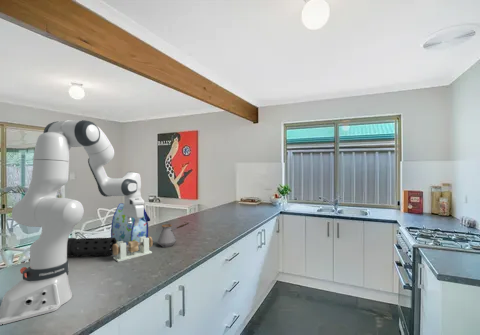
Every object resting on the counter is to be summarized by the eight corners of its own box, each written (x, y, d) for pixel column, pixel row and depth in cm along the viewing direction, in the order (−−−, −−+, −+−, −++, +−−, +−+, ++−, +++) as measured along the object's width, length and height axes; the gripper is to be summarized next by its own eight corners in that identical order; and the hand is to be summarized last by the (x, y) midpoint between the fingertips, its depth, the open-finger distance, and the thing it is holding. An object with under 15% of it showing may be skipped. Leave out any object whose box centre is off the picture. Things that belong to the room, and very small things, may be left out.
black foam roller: (109, 258, 140) (109, 239, 140) (57, 259, 138) (57, 241, 138) (116, 252, 149) (116, 235, 149) (68, 253, 148) (68, 236, 148)
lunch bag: (152, 241, 170) (151, 203, 171) (131, 248, 156) (131, 206, 156) (130, 237, 181) (129, 201, 181) (108, 243, 166) (108, 204, 166)
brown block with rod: (116, 256, 133) (116, 245, 133) (112, 253, 138) (112, 243, 138) (152, 247, 148) (152, 237, 148) (148, 245, 152) (148, 235, 152)
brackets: (118, 261, 134) (117, 244, 134) (113, 258, 139) (113, 242, 139) (152, 253, 147) (151, 237, 147) (146, 250, 152) (146, 235, 152)
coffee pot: (154, 247, 157) (154, 223, 158) (163, 242, 169) (162, 219, 169) (186, 249, 154) (185, 224, 154) (193, 243, 165) (192, 220, 165)
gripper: (120, 199, 148) (120, 222, 148) (134, 202, 134) (134, 228, 133) (131, 198, 152) (131, 221, 152) (146, 201, 138) (145, 226, 138)
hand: (132, 224), depth 143 cm, fingers open, 8 cm apart
